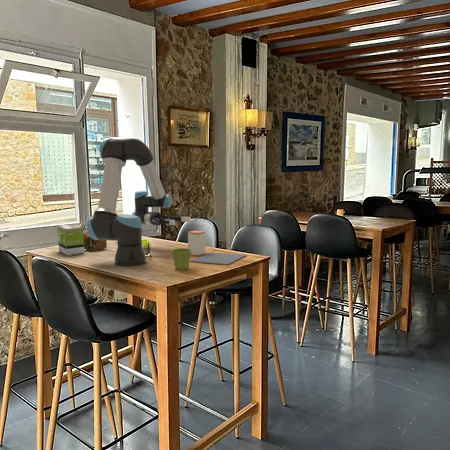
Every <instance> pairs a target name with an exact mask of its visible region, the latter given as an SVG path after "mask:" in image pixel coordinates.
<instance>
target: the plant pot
mask: <svg viewBox="0 0 450 450" xmlns="http://www.w3.org/2000/svg"><path fill="white" fill-rule="evenodd" d="M191 251H192V250H191V249H188V248H173V249H171V250H170V252H171V254H172V256H173V257H172V258H173V263H174V267H175V268H174V269H175V270H178V271H183V270H185V271H186V269H187V270H188V269H189V267H190V261H191V260H190V259H191V255H192V254H191Z"/></svg>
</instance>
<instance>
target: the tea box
mask: <svg viewBox="0 0 450 450" xmlns="http://www.w3.org/2000/svg"><path fill="white" fill-rule="evenodd" d="M56 230H57V239H58V240H57V242H58V251H59V252H60V251H61V253H63V254H64V255H65V254H66V255H65V256H67V255H68V256H71V255H70V254H76V255H79V254H78V253H83V254H85V250H84V235H83V232H84V227H82V226H81V225H77V224H65V225H57V229H56Z"/></svg>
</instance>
